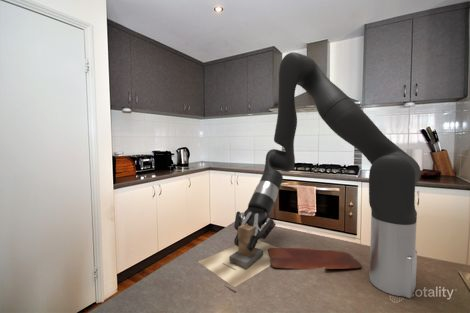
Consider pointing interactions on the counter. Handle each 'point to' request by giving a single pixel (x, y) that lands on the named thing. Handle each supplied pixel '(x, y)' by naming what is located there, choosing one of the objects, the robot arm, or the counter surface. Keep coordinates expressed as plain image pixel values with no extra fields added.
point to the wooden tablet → (311, 259)
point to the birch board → (236, 272)
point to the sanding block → (245, 248)
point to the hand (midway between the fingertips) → (242, 247)
